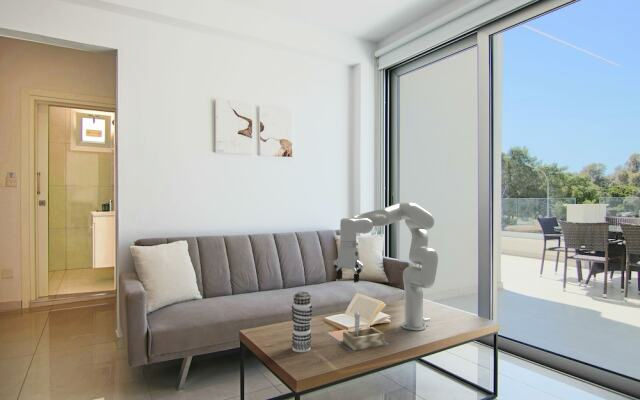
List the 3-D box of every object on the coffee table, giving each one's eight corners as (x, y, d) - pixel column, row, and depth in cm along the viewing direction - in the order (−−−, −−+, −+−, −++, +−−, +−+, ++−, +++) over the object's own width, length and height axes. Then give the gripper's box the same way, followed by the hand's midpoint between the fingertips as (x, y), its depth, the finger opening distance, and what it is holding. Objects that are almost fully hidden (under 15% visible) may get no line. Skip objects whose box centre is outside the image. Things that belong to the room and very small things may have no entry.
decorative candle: (300, 343, 181) (301, 289, 181) (316, 348, 175) (316, 292, 175) (287, 348, 174) (287, 293, 174) (302, 354, 168) (302, 296, 168)
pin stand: (359, 329, 201) (360, 299, 201) (390, 346, 178) (390, 312, 178) (323, 335, 192) (323, 303, 192) (350, 354, 168) (350, 318, 168)
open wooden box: (372, 337, 186) (372, 326, 186) (384, 344, 178) (384, 333, 178) (342, 342, 179) (343, 331, 179) (354, 350, 170) (354, 338, 170)
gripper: (368, 245, 181) (367, 282, 181) (338, 242, 193) (338, 276, 193) (358, 246, 176) (358, 284, 176) (328, 243, 187) (328, 279, 187)
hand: (347, 280), depth 184 cm, fingers open, 9 cm apart
